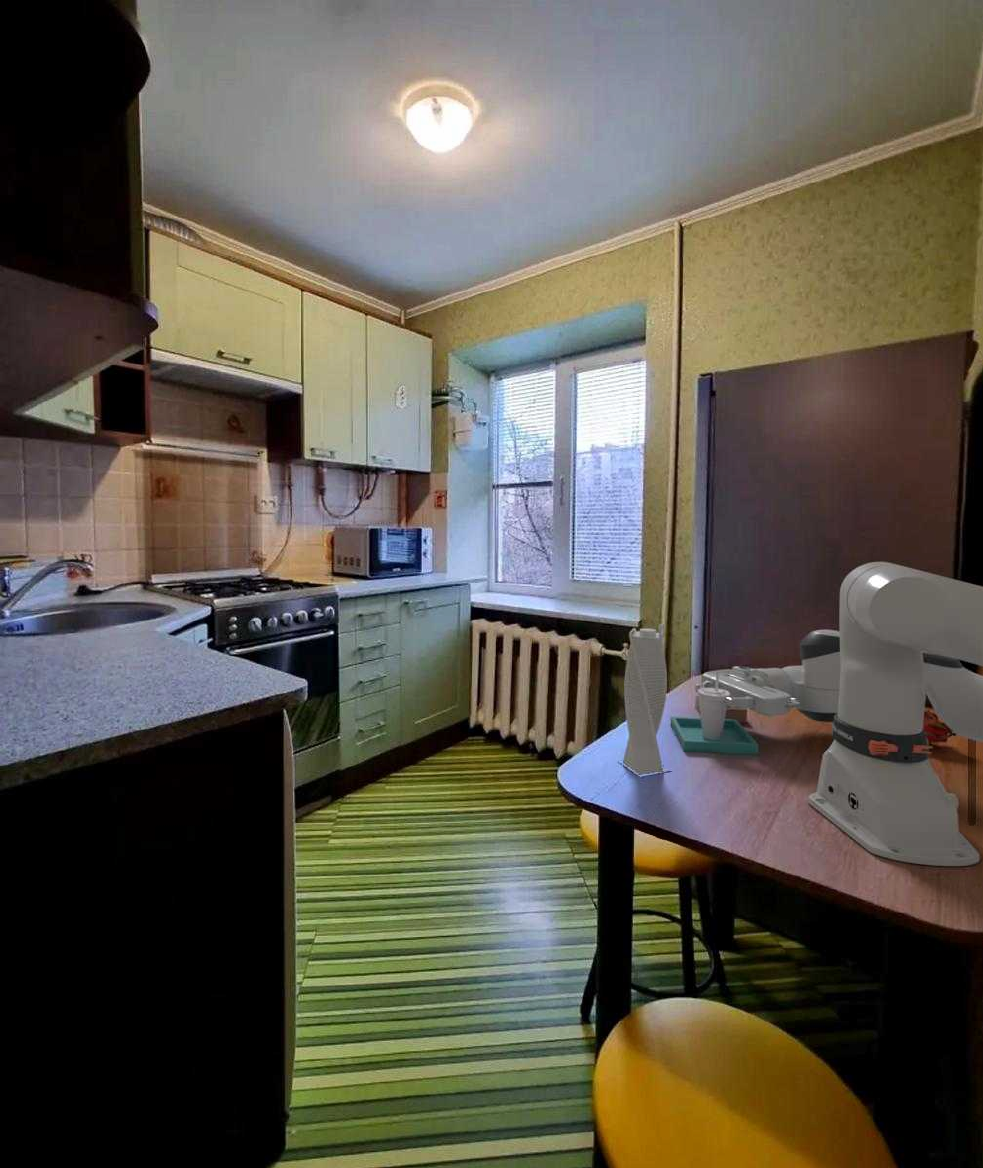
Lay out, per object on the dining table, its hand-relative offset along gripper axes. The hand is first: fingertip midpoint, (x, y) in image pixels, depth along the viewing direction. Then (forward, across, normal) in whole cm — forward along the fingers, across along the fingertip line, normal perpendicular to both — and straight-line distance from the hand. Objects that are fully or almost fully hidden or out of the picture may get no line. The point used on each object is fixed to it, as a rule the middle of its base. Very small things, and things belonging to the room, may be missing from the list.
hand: (712, 695), depth 116 cm
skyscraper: (+21, -8, -10) cm, 25 cm away
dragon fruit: (-40, -14, -10) cm, 44 cm away
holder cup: (-12, +12, -9) cm, 20 cm away
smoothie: (0, 0, -9) cm, 9 cm away
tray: (0, 0, -9) cm, 9 cm away
